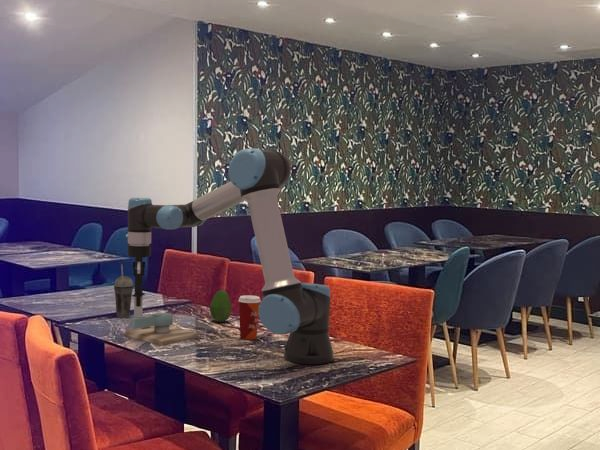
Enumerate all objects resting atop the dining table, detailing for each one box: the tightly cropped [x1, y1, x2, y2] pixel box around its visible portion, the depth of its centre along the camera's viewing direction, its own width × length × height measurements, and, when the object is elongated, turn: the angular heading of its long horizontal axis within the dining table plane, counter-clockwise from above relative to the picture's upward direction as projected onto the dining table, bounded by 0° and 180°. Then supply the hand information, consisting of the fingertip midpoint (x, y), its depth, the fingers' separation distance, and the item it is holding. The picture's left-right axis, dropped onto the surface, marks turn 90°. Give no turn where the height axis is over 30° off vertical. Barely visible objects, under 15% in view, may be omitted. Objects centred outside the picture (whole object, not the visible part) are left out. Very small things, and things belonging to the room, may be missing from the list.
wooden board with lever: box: [124, 325, 199, 346], centre depth 231 cm, size 18×16×4 cm
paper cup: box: [237, 294, 262, 341], centre depth 234 cm, size 8×8×14 cm
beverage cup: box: [113, 263, 135, 319], centre depth 258 cm, size 7×7×20 cm
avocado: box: [209, 289, 232, 323], centre depth 257 cm, size 8×8×12 cm
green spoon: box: [130, 312, 174, 330], centre depth 228 cm, size 14×7×3 cm, turn 134°
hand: (138, 315), depth 229 cm, fingers closed
